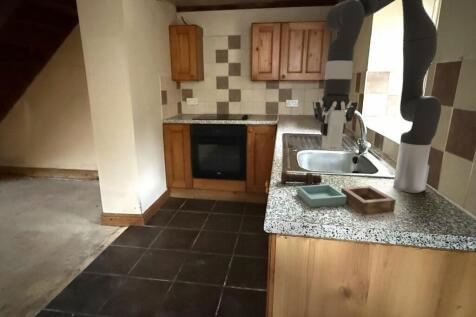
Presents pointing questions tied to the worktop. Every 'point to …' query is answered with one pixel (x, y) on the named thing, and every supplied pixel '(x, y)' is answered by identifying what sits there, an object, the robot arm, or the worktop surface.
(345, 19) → the robot arm
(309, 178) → the bolt
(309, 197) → the tray
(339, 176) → the worktop surface
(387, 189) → the worktop surface
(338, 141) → the skincare box
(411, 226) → the worktop surface
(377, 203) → the holder
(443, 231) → the worktop surface
